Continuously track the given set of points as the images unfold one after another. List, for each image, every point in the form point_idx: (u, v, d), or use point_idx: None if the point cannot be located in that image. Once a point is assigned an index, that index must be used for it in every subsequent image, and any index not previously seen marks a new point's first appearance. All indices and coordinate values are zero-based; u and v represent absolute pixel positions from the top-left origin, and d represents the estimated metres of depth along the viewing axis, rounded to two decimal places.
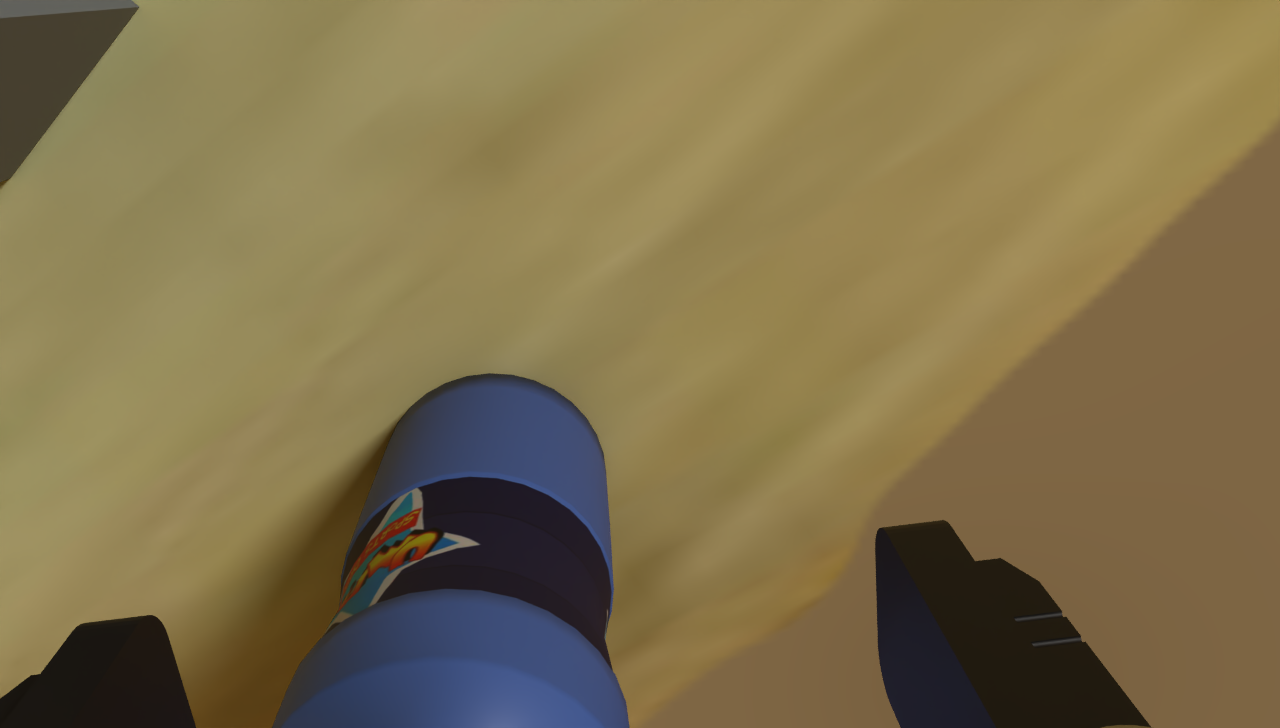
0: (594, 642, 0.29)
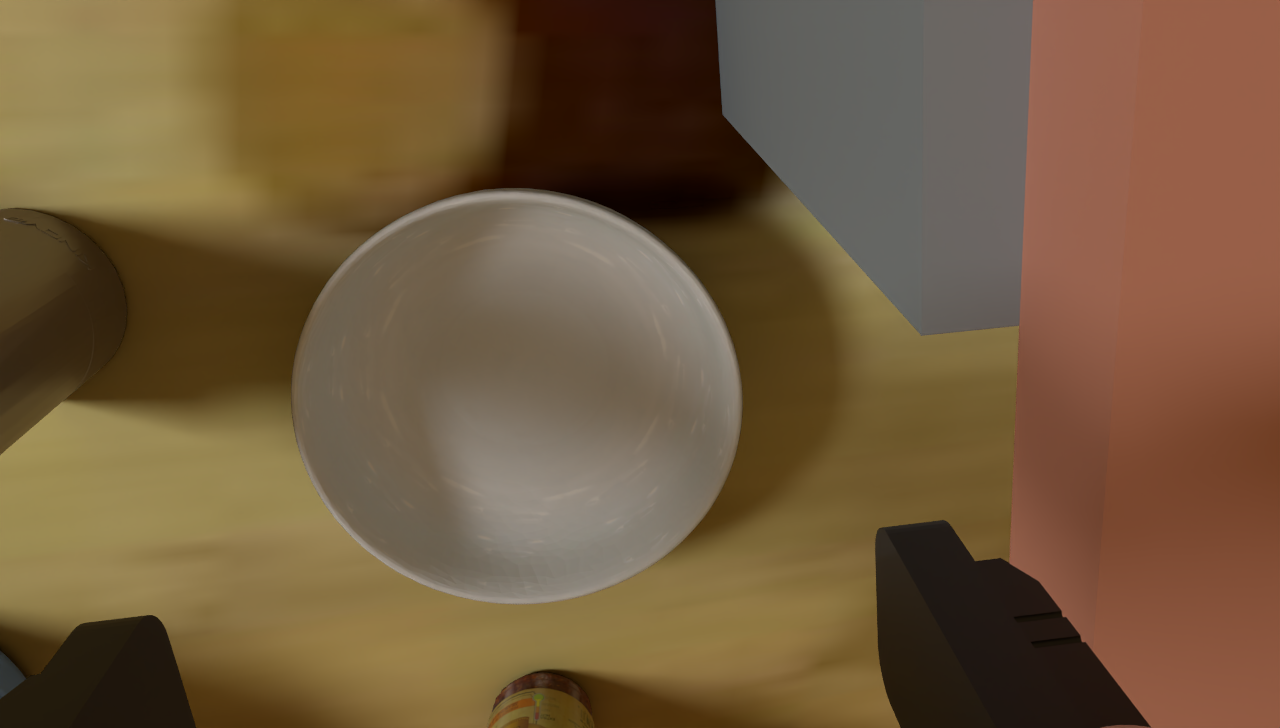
0: None
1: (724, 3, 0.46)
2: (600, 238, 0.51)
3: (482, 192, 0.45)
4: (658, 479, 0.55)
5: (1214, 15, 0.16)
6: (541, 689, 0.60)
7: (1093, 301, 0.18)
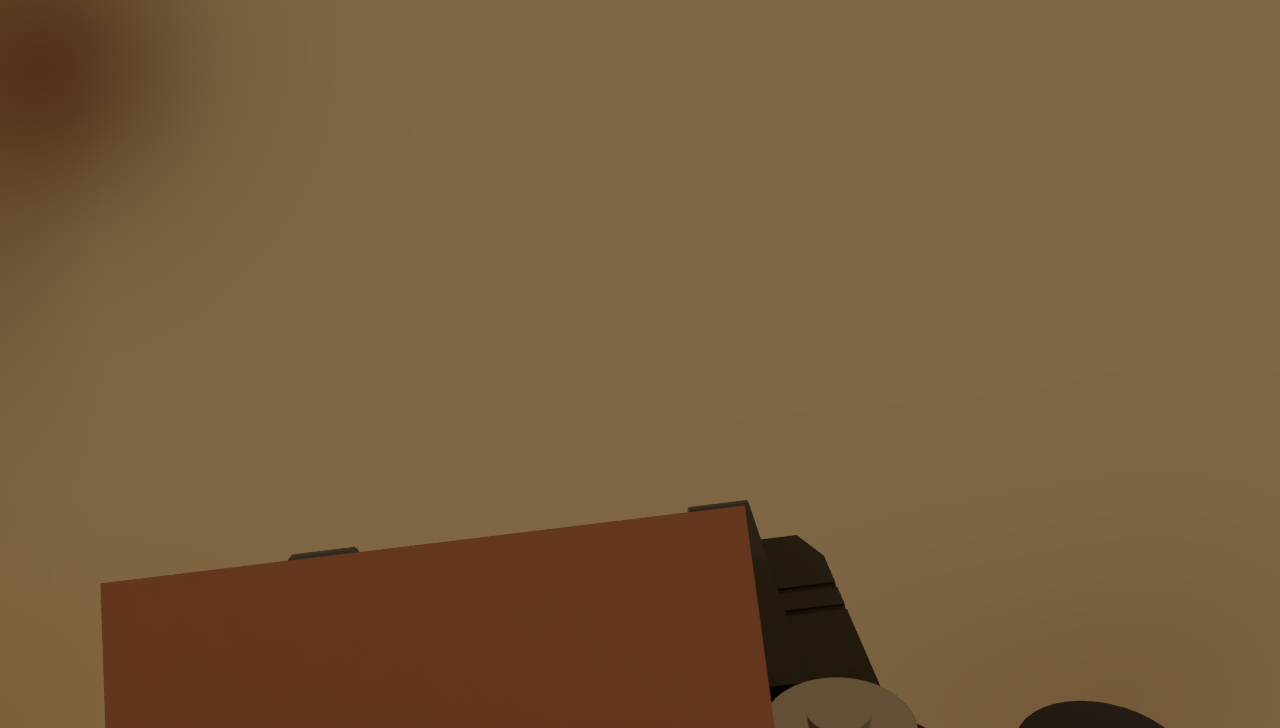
0: None
1: None
2: None
3: None
4: None
5: None
6: None
7: None
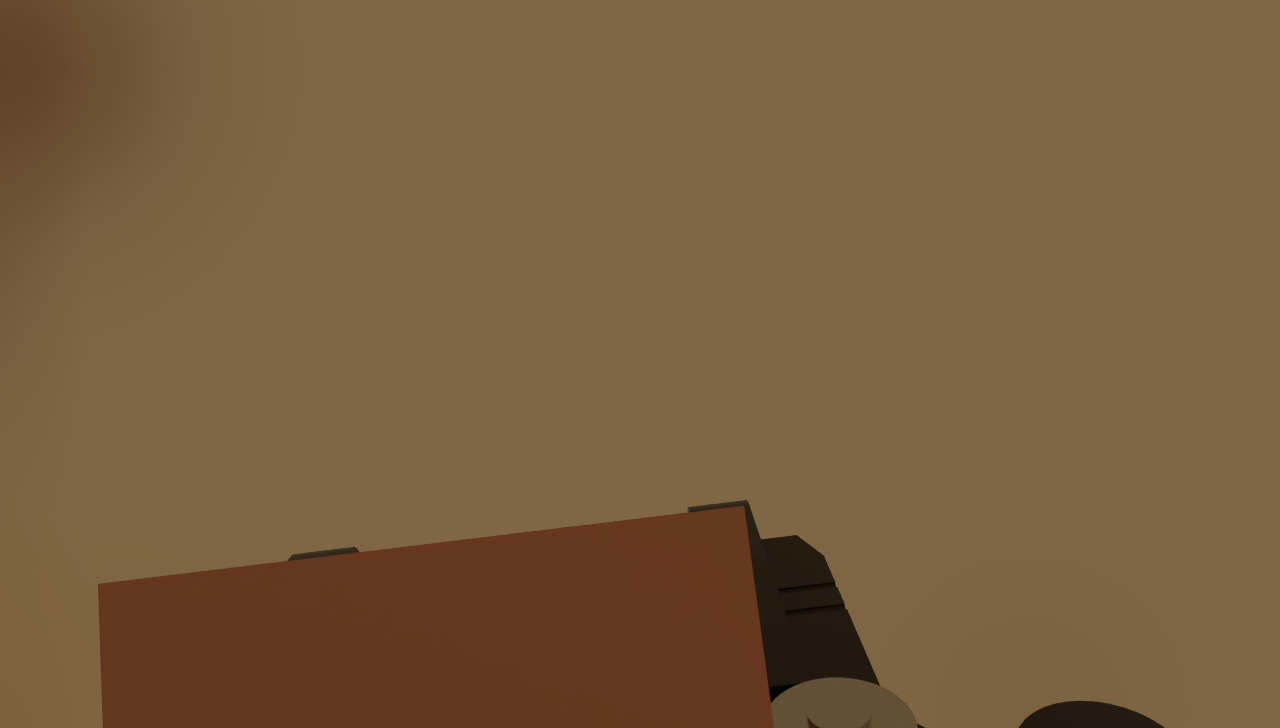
0: None
1: None
2: None
3: None
4: None
5: None
6: None
7: None
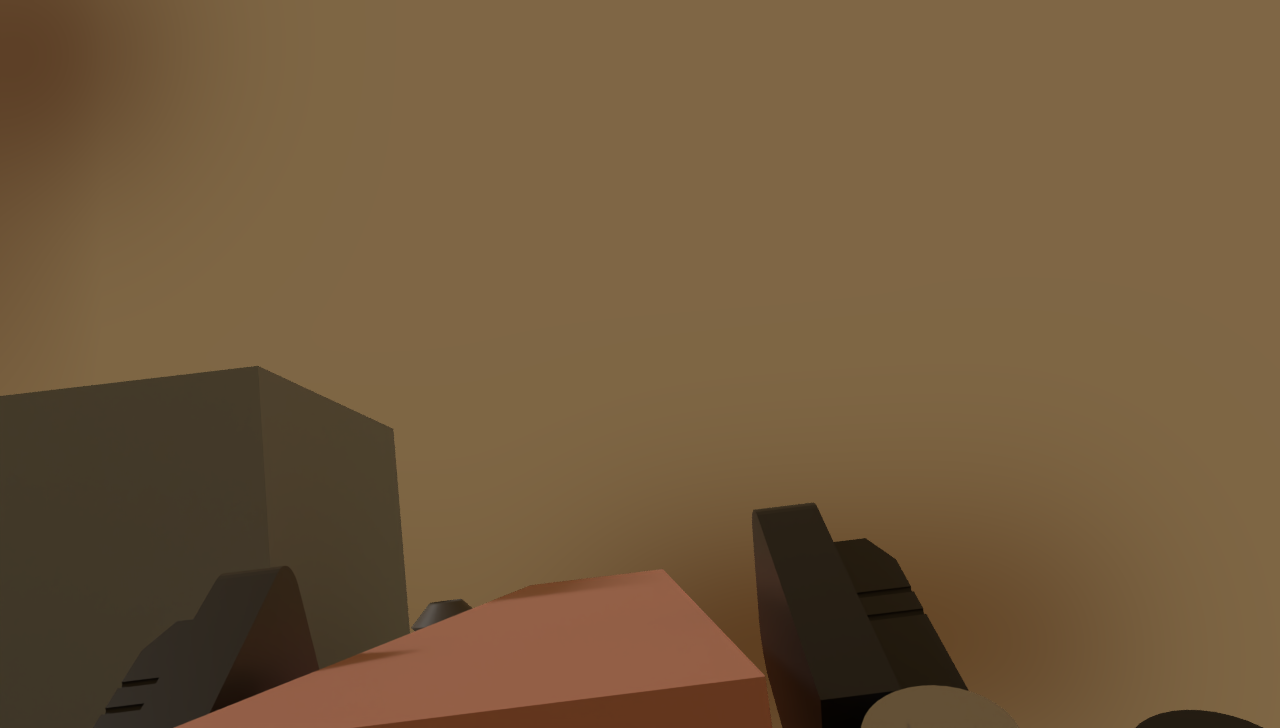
0: None
1: None
2: None
3: None
4: None
5: (534, 598, 0.22)
6: None
7: None
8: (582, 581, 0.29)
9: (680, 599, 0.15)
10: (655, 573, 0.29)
